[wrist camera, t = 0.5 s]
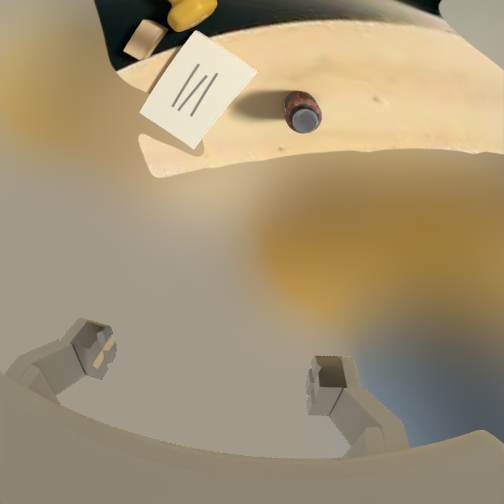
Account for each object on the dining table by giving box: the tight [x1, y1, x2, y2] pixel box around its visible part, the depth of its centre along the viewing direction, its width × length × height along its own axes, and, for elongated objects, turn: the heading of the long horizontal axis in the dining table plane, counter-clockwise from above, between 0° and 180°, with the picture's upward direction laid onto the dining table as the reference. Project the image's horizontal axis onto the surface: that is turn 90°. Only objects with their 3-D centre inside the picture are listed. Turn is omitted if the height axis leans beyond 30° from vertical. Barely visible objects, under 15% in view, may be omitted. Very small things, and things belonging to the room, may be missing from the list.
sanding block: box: [123, 20, 169, 60], centre depth 37 cm, size 7×4×4 cm, turn 141°
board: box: [139, 31, 258, 149], centre depth 46 cm, size 20×14×2 cm
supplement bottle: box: [284, 91, 322, 133], centre depth 43 cm, size 6×6×11 cm
